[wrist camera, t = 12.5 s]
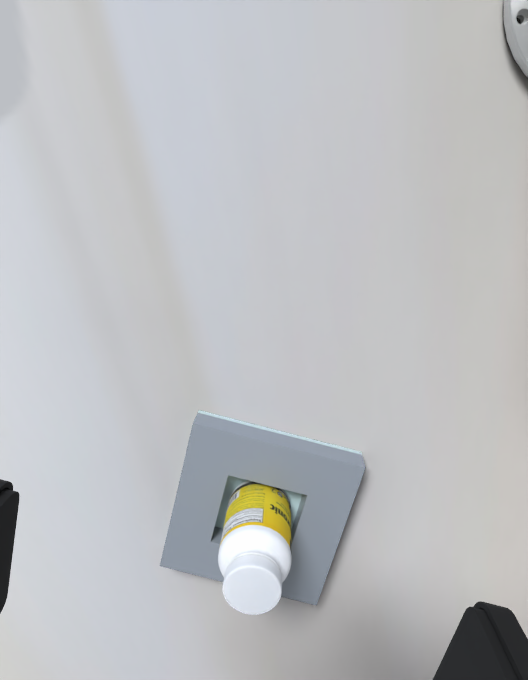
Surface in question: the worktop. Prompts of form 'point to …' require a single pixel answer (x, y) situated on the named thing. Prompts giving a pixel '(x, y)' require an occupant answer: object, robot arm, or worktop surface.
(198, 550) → the holder block
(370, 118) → the worktop surface
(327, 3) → the worktop surface
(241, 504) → the supplement bottle
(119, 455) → the worktop surface
